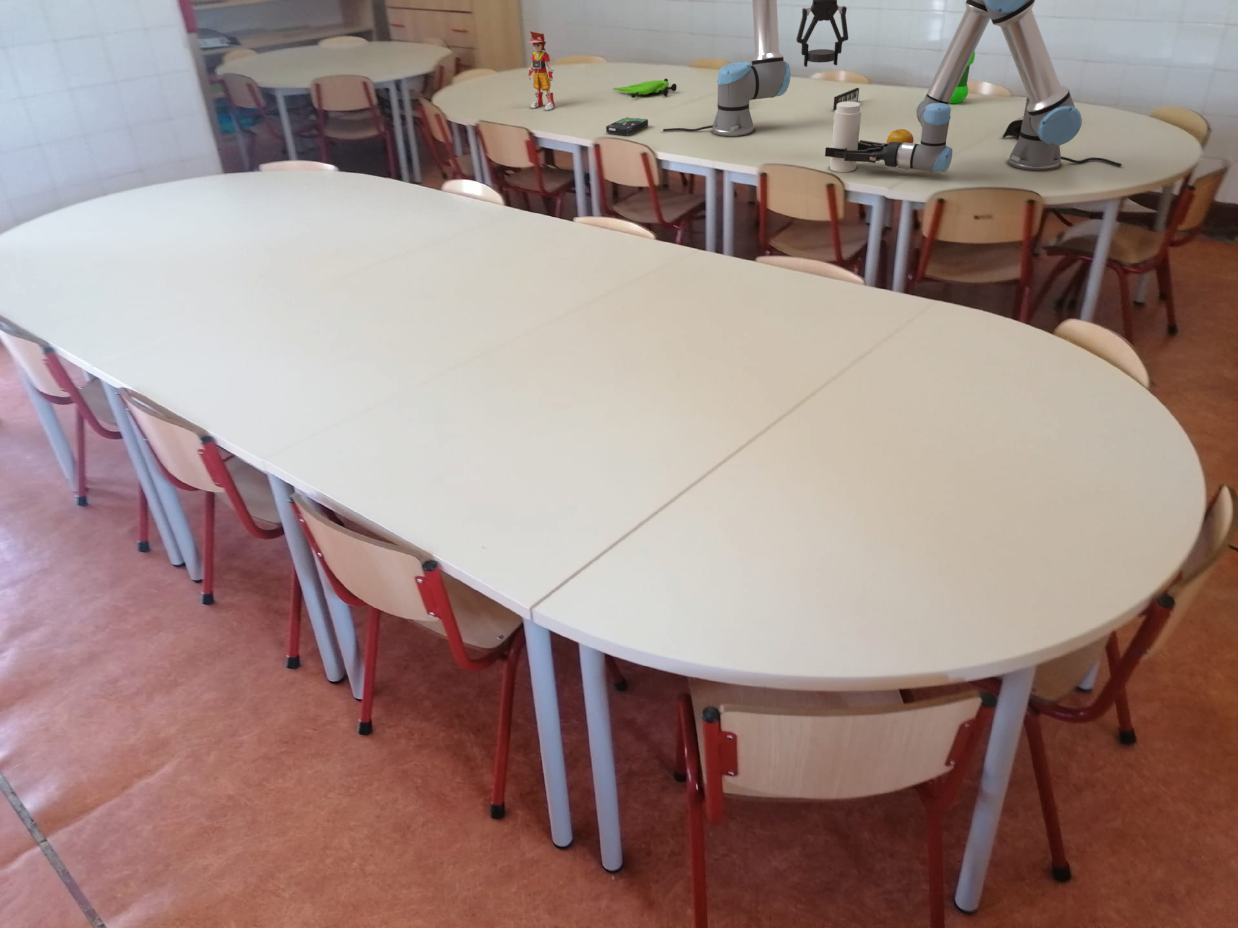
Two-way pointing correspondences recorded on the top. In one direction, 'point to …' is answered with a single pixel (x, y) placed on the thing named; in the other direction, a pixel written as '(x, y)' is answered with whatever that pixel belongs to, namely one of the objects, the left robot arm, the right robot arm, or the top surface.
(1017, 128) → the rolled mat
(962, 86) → the plastic bottle
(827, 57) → the lid
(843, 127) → the jar
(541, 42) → the toy
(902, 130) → the fruit
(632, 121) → the disk drive
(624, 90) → the toy
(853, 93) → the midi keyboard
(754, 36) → the left robot arm
